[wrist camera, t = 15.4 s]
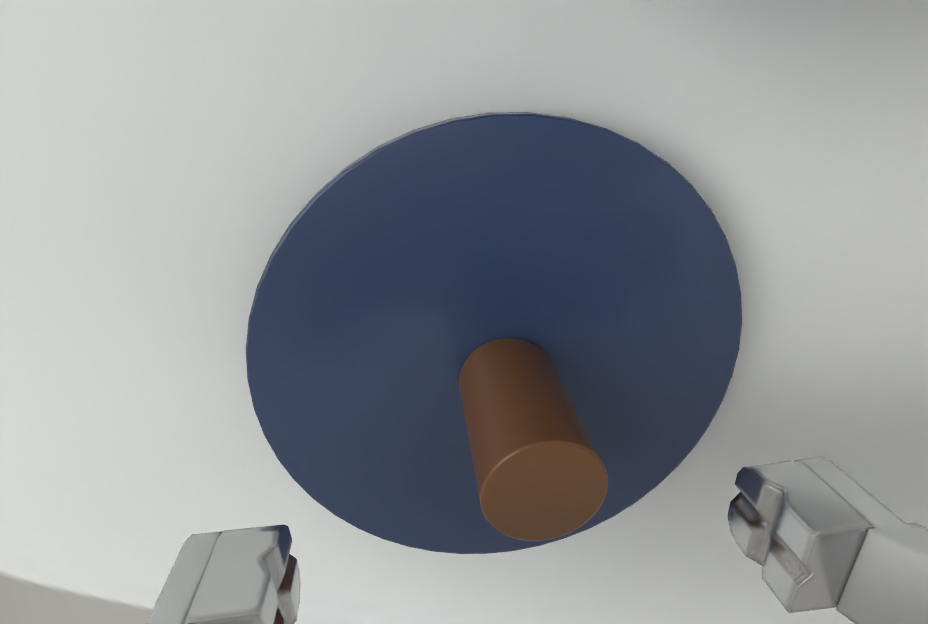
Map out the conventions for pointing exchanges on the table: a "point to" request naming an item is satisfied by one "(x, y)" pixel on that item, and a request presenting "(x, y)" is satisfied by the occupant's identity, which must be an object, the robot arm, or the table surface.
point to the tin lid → (493, 333)
